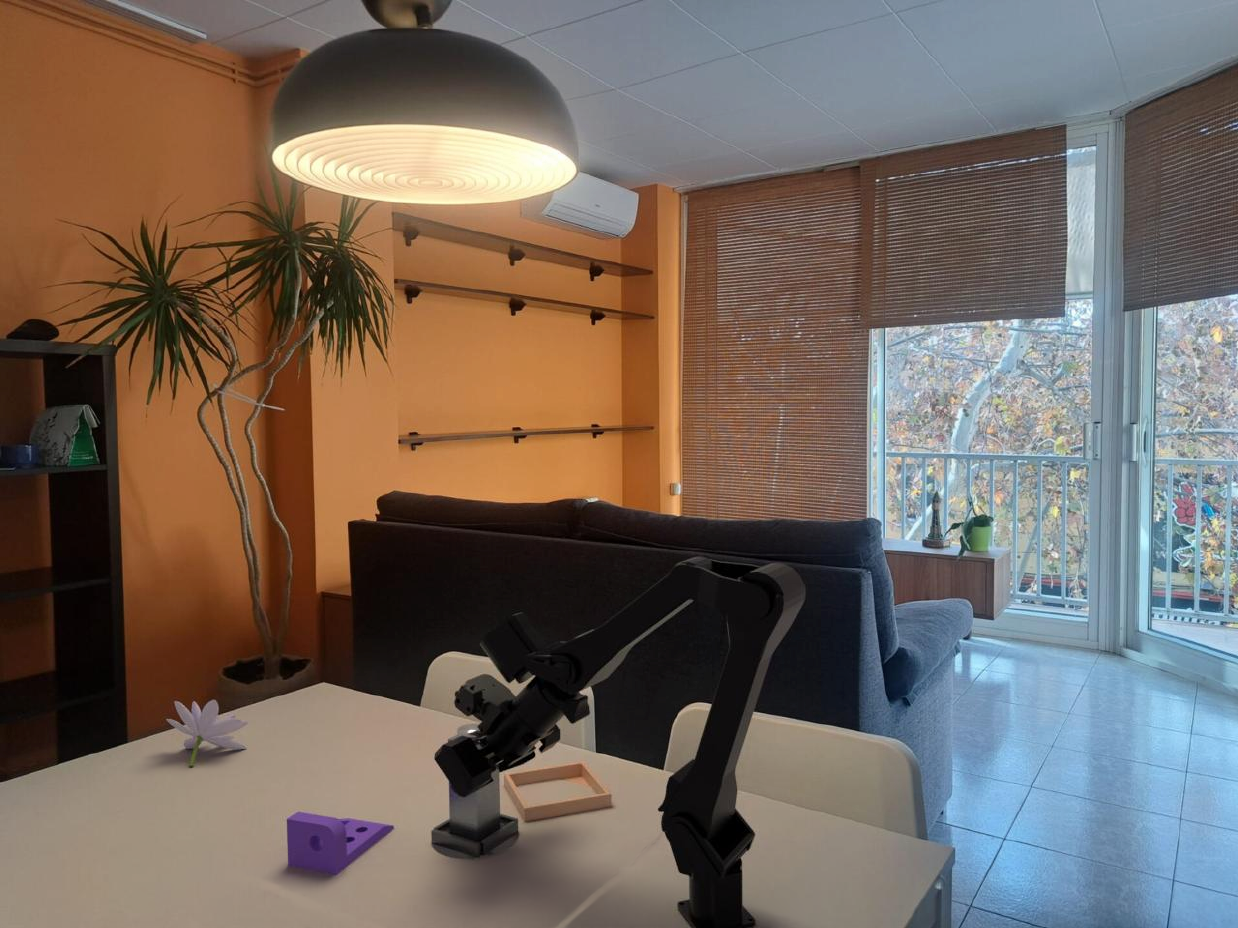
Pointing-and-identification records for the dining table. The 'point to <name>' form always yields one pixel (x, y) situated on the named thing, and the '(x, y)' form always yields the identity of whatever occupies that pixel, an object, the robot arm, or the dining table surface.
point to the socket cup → (473, 850)
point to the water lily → (207, 727)
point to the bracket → (329, 841)
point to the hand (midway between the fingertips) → (465, 782)
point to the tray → (568, 773)
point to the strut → (475, 801)
